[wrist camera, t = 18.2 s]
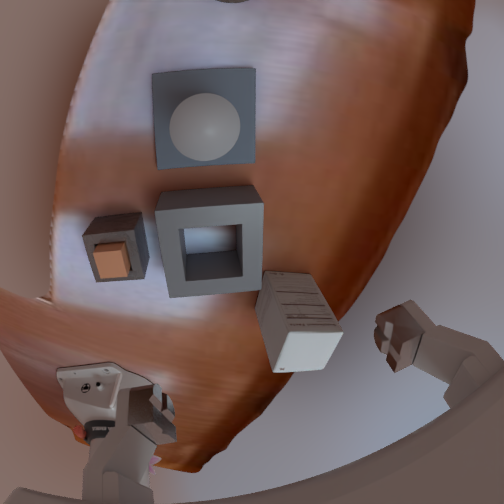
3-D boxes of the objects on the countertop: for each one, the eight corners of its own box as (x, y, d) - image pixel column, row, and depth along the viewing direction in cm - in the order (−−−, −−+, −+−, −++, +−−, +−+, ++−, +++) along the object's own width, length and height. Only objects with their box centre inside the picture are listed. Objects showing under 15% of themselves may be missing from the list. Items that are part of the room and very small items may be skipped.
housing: (172, 269, 38) (169, 297, 33) (161, 192, 33) (154, 211, 28) (252, 263, 40) (261, 289, 35) (253, 185, 34) (263, 202, 29)
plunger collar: (105, 260, 36) (96, 282, 32) (95, 217, 33) (82, 235, 28) (149, 257, 37) (144, 279, 33) (141, 212, 34) (133, 230, 29)
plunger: (112, 252, 35) (100, 278, 30) (106, 228, 33) (92, 252, 28) (136, 249, 35) (127, 276, 30) (131, 226, 34) (120, 250, 29)
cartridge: (188, 146, 30) (180, 169, 20) (175, 104, 27) (161, 105, 17) (232, 133, 30) (247, 150, 20) (221, 91, 27) (230, 85, 18)
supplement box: (297, 310, 46) (323, 371, 35) (253, 308, 44) (270, 374, 33) (312, 272, 43) (346, 332, 32) (264, 268, 41) (288, 333, 30)
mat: (158, 167, 31) (157, 169, 30) (153, 74, 26) (152, 74, 25) (253, 161, 33) (255, 163, 32) (254, 69, 27) (255, 68, 26)
